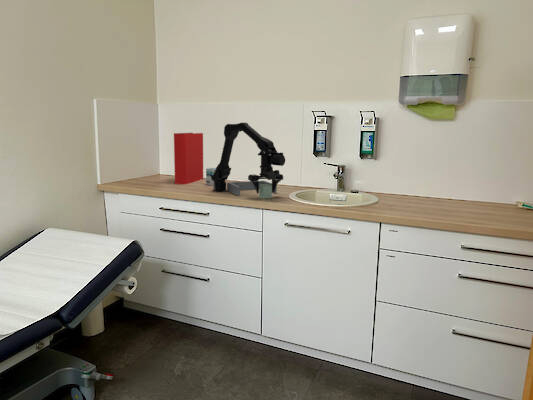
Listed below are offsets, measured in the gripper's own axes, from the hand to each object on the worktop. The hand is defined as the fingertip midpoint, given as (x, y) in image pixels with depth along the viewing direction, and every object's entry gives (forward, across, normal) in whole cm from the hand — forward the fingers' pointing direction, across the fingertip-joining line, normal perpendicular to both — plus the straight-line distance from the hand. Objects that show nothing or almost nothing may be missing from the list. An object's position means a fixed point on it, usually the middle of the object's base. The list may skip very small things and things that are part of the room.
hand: (265, 193), depth 212 cm
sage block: (+3, 0, 0) cm, 3 cm away
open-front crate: (+2, 0, +18) cm, 18 cm away
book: (+3, -23, +70) cm, 74 cm away
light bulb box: (+3, -11, +51) cm, 52 cm away
